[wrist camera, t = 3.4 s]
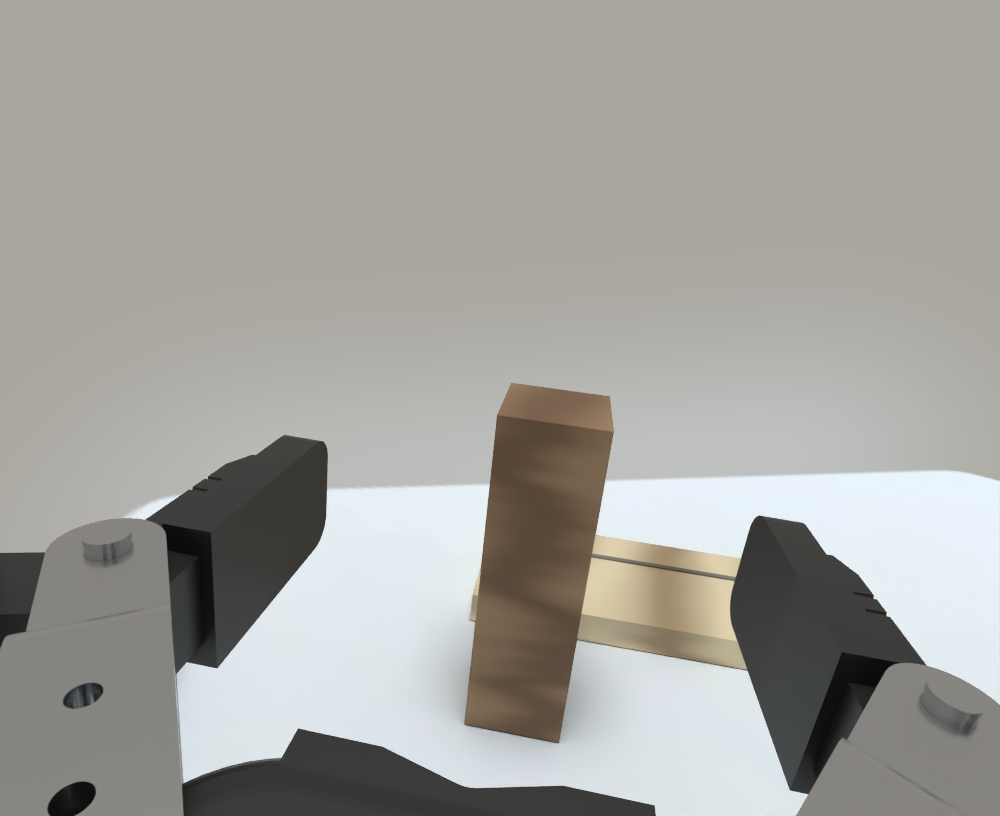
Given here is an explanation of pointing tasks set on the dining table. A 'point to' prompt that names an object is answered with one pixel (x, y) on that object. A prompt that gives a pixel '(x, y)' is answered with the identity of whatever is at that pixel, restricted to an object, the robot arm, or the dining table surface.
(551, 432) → the block
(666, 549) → the board
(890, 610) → the dining table surface
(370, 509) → the dining table surface
